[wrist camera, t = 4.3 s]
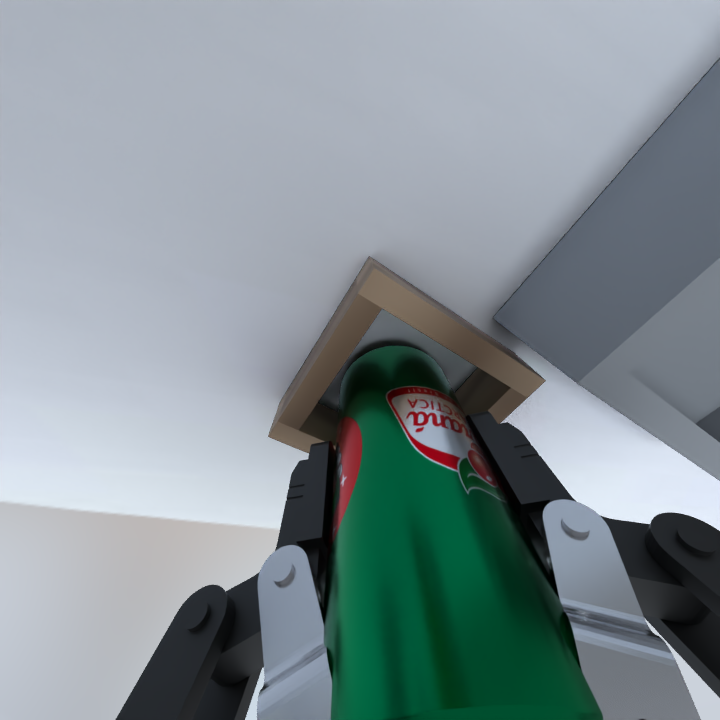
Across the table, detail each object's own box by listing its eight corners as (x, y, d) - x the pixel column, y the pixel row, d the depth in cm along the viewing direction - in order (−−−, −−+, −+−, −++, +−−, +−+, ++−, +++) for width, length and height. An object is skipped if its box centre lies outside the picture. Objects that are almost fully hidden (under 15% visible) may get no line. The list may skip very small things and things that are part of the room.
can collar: (279, 402, 15) (267, 436, 13) (369, 256, 12) (374, 267, 9) (410, 461, 17) (419, 498, 15) (514, 353, 14) (545, 380, 12)
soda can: (463, 381, 14) (772, 885, 4) (392, 439, 16) (464, 893, 5) (390, 318, 13) (572, 900, 2) (319, 390, 14) (224, 905, 4)
